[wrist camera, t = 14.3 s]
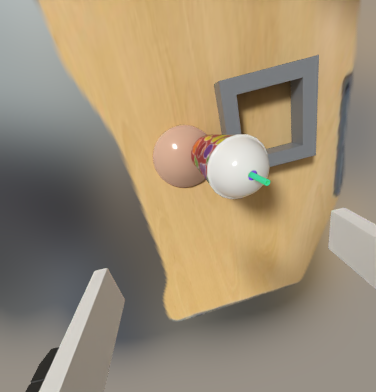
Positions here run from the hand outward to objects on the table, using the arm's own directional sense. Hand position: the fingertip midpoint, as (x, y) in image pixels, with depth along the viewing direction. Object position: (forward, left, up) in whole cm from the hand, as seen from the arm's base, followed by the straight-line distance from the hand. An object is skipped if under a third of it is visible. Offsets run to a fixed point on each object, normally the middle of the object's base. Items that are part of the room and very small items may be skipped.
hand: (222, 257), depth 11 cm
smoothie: (0, +4, -28) cm, 29 cm away
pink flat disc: (0, 0, -29) cm, 29 cm away
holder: (-3, +16, -29) cm, 33 cm away
